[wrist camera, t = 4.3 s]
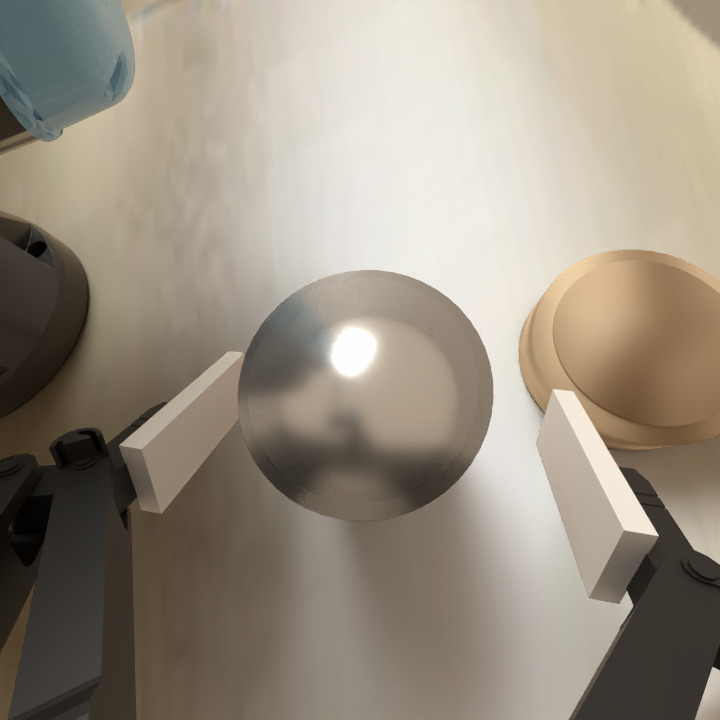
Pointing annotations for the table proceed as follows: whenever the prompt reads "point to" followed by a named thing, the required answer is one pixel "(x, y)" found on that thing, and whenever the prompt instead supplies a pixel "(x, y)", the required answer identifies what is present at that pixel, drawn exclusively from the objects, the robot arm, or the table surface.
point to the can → (365, 395)
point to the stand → (630, 347)
